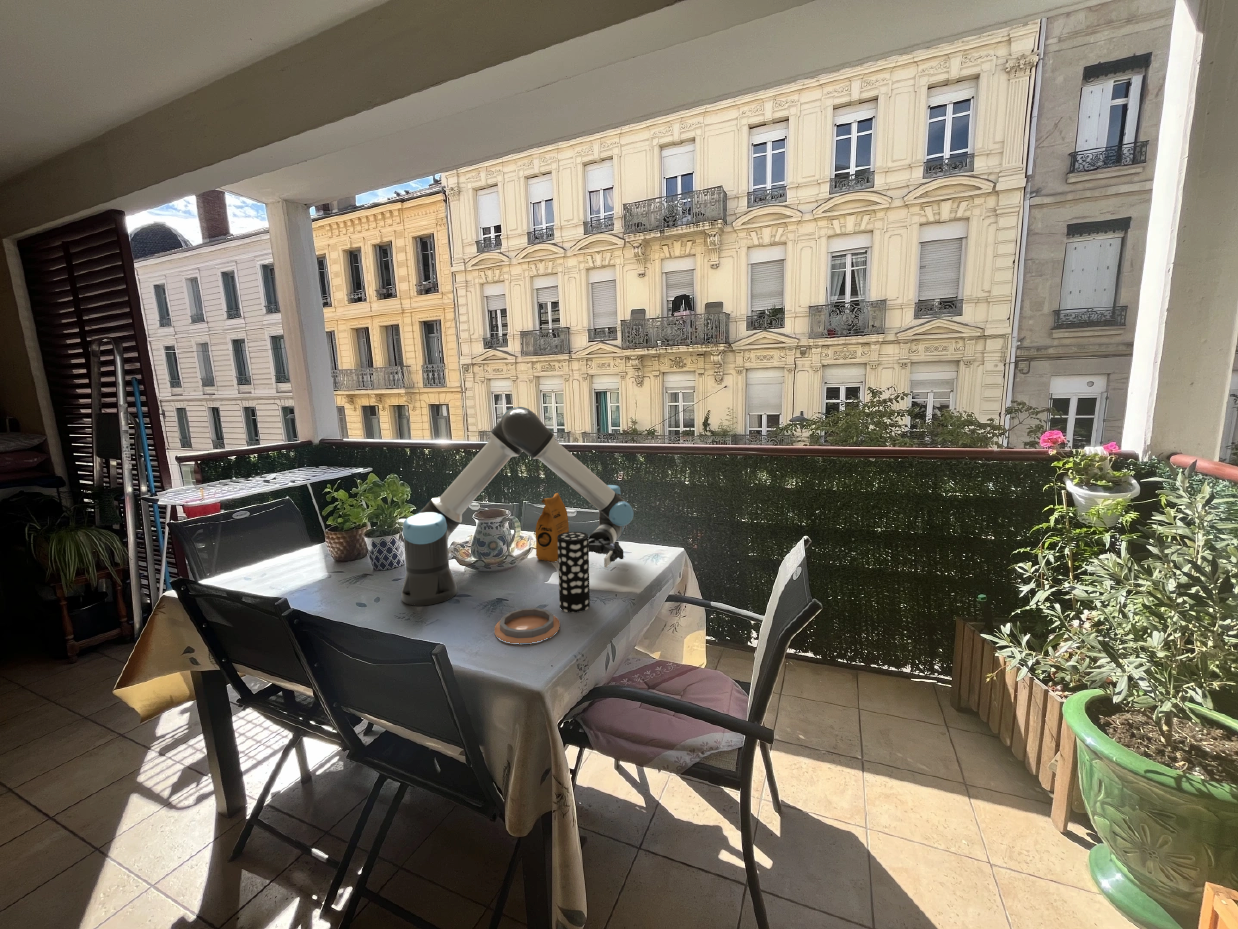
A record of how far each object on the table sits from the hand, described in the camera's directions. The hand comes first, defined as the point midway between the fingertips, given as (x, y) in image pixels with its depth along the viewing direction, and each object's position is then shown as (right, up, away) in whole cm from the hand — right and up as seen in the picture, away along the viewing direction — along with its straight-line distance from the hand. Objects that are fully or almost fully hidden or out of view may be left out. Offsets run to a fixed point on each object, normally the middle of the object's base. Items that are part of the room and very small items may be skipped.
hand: (582, 561), depth 144 cm
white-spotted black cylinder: (-2, -12, -4) cm, 13 cm away
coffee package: (-13, -6, +38) cm, 40 cm away
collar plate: (-13, -14, -17) cm, 25 cm away
